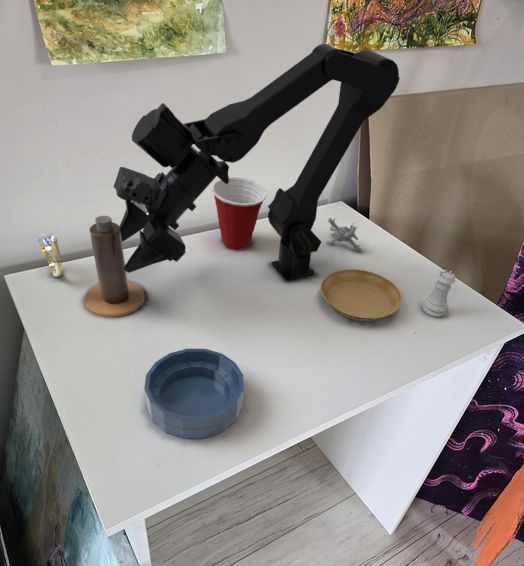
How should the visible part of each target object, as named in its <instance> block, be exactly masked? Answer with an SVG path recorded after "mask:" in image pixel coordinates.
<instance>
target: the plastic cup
mask: <svg viewBox="0 0 524 566" xmlns="http://www.w3.org/2000/svg"><path fill="white" fill-rule="evenodd" d="M211 193H212V194H213V197H214V201H215V206H216V214H217V219H218V227H219V230H220V236H221V237H220V238H221V242H222V244H223V245H224V247H226V248H228V249H231V250H237V251H238V250H245V249H247V248H248V247H249V246H250V244H251V242H252V239H253V233H254V231H255V228H256V225H257V221H258V217H259V213H260V209H261V207H262V205H263V202H265V200H266V199H267V197H268V192H267V190H266V189H265V187H264V186H263V185H262V184H261V183H258V182H257V181H254V180H252V179H248V178H246V177H238V176H237V177H236V176H230V177H229V183H228V184H225V183H224V182H223V181H222V180H221V179H219V178H218V179H217V180H215V181H214V182H212V184H211Z"/></svg>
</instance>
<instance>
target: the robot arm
mask: <svg viewBox="0 0 524 566" xmlns="http://www.w3.org/2000/svg"><path fill="white" fill-rule="evenodd" d="M400 79H401V77H400V72H399V67H398V64H397V63H396V62H395V61H394V60H392V59H390V58H388V57H386V56H383V55H382V54H379V53H378V52H375V51H374V50H370V49H363V50H360V51H357V52H352V51H349V50H346V49H341V48H337V47H334V46H332V45H330V44H327V43H321V44H318V45H316V46H315V47H314V48H313V49H312V51H311V53H309V54H307V55H306V56H304V57H303V58H302V59H301V60H300V61H298V62H297V63H296V64H294V65H293V66H291V67H290V68H289V69H287V70H286V71H285V72H284V73H282V74H281V75H279V76H278V77H276V78H275V79H274V80H273V81H271V82H270V83H268V84H267V85H266V86H264V87H263V88H262V89H260V90H259V91H258V92H256V93H255V94H253V96H251V97H249V98H246V99H244V100H241V101H238V102H234V103H230V104H227V105H225V106H223V107H222V108H220V109H218V110H216V111H214V112H213V111H212V113H210V114H209V115H208V116H207V117H206V118H203V119H199V120H195V121H190V122H185V123H183V122H182V121H181V120H180V119H179V118H178V117H177V116H176V115H175V114H174V113H173V111H172V109H170V108H169V107H168V105H166V104H165V102H162V103H161V104H160V105H159V106H158V108H153V109H152V110H150V111H148V112H147V114H145V115H142V117H141V118H140V119H139V121H137V123H136V125H135V126H134V128H133V130H132V134H131V141H132V142H133V143H134V144H135V145H136V146H137V147H139V148H140V149H141V150H142V151H143V152H144V153H145V154H147V155H148V156H149V157H151V158H152V160H154V161H155V162H156V163H157V164H158V165H159V166H161V167H163V168H168V167H170V170H169V171H167V173H166V174H165V173H164V172H163V171H162V172H159V173H157V175H155V177H151V176H149V175H147V174H144V173H142V172H138V171H136V170H134V169H130V168H127V167H125V166H120V167H119V169H118V171H117V175H116V178H115V180H114V184H113V189H115V191H116V196H117V197H118V198H119V199H121V200H124V203H125V211H124V214H123V217H122V219H121V221H120V224H119V227H120V231H121V239H122V243H123V242H125V241H127V240H128V239H130V238H131V237H132V236H134V235H136V234H137V233H139V241H140V242H139V244H138V246H137V247H136V249H135V250H134V251H133V253H132V255H130V257H129V259H128V260H127V262H125V267H124V270H125V271H126V273H128V274H130V273H133V272H136V271H138V270H141V269H144V268H146V267H149V266H151V265H154V264H159V263H161V262H164V261H165V262H166V261H168V262H172V261H174V262H179V261H180V260H181V259H182V258H183V256H185V254H186V244H185V243H184V241H183V239H182V237H181V235H180V234H179V233H178V232H176V230H177V229H178V228H179V227H180V224H179V223H178V220H179V219H180V218H181V217H182V216H183V215H184V214H185V212H186V211H188V210H189V211H190V212H193V211H194V210H195V209H196V208H197V205H196V204H195V201H196V200H197V199H198V198H199V197H200V196H201V194H202V193H203V192H204V191H205V190H206V189H207V188H208V187H209V186H210V184H211V183H213V181H214V180H215V179H216V178H218V180H219V179H221V180H222V181H223V182H224V183H225V184H228V183H229V170H230V166H229V164H228V163H231V164H233V163H237V162H239V161H241V160H242V159H243V158H244V157H246V155H247V154H249V153H250V151H251V150H252V149H253V148H255V147H256V145H257V144H258V143H259V141H260V139H261V138H262V136H263V135H264V132H265V131H266V130H267V129H268V128H269V127H270V126H271V125H272V124H274V123H275V122H276V121H278V120H279V119H281V118H282V117H283V116H284V115H286V114H288V113H289V112H290V111H292V110H293V109H294V108H295V107H297V106H298V105H300V104H301V103H302V102H303V101H305V100H307V99H308V98H309V97H310V96H312V95H313V94H315V93H316V92H317V91H319V90H320V89H322V88H323V87H324V86H325V85H327V84H328V83H330V82H331V81H336V82H339V83H340V86H339V93H338V94H339V95H338V103H337V106H336V108H335V110H334V111H333V114H332V115H331V117H330V119H329V121H328V123H327V124H326V127H325V128H324V130H323V132H322V133H321V135H320V137H319V139H318V141H317V142H316V144H315V147H314V148H313V150H312V152H311V154H310V156H309V158H307V161H306V163H305V165H304V166H303V168H302V169H301V172H300V174H299V175H298V177H297V179H296V181H295V182H294V184H293V185H292V186H291V187H289V188H287V189H286V190H283V189H282V188H281V187H279V188H278V189H277V190H276V192H275V196H274V198H273V199H272V201H271V203H269V205H268V206H267V208H268V209H269V210H268V213H267V218H268V223H269V224H270V226H271V227H272V228H273V230H274V231H275V232H276V234H277V235H278V236H279V237H280V242H279V250H278V251H279V252H278V259H277V260H274V261H271V264H270V265H271V266H272V268H273V269H274V270H275V271H276V272H277V273H278V274H279V275H280V276H281V277H282V279H283V280H284V281H287V282H290V281H294V280H297V279H302V278H305V277H311V276H314V275H315V271H314V270H313V269H312V267H310V265H311V259H312V253H316V252H318V250H319V248H320V246H321V245H322V240H321V239H320V238H319V237H318V236H317V235H316V234H315V233H314V231H312V229H313V226H314V225H315V221H316V220H317V211H318V203H319V202H318V201H319V199H320V197H321V195H322V194H323V192H324V190H325V188H326V186H328V184H329V182H330V180H331V178H332V176H333V174H334V173H335V171H336V169H337V168H338V166H339V164H340V163H341V161H342V159H343V157H344V156H345V154H346V152H347V151H348V149H349V147H350V145H351V144H352V142H353V140H354V138H355V137H356V135H357V133H358V132H359V130H360V128H361V126H362V125H363V123H364V122H365V121H366V120H367V119H369V118H370V117H371V116H373V115H375V113H377V112H378V111H379V110H381V109H382V108H383V107H384V105H385V104H386V103H387V102H388V100H389V99H390V98H391V96H392V95H393V93H394V92H395V91H396V89H397V87H398V85H399V84H400ZM193 145H194V146H195V147H196V148H197V149H196V148H195V147H194V146H193ZM215 157H217V158H218V159H219V160H221V161H219V160H217V159H216V158H215Z"/></svg>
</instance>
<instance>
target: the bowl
mask: <svg viewBox="0 0 524 566" xmlns="http://www.w3.org/2000/svg"><path fill="white" fill-rule="evenodd" d="M144 379H145V380H144V385H143V390H144V391H143V392H144V398H145V407H146V410H147V412H148V415H149V417H150V420H151V421H152V423H153V424H155V425H156V426H157V427H158V428H160V429H161V430H162V432H165V433H166V434H168V435H172V436H175V437H178V438H181V439H205V438H208V437H212V436H214V435H217V434H220V433H223V432H225V431H226V429H228V428H229V427H230V426H231V425H233V424H234V423H235V422H237V420H238V418H239V415H240V414H241V411H242V409H243V406H244V394H245V383H244V381H245V380H244V374H243V372H242V370H241V369H240V368H239V366H238V364H237V362H235V361H234V360H232V359H231V358H229V357H228V356H226V354H224V353H221V352H218V351H214V350H211V349H207V348H184V349H179V350H177V351H173V352H170V353H168V354H166V355H164V356H163V357H161V358H160V359H157V360H156V361H155V362H154V363H153V365H152V366H151V367H150V368H149V370H148V371H147V372H146V374H145V378H144Z"/></svg>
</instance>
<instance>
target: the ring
mask: <svg viewBox="0 0 524 566" xmlns="http://www.w3.org/2000/svg"><path fill="white" fill-rule="evenodd" d="M36 242H38V245H39V246H40V248H41V250H42V252H43V254H44V255H43V256H44V257H45V259H46V262H47V264H48V266H49V269H50V270H51V272H52V275H53V277H55V278H56V277H61V276H62V272H63V270H62V269H63V267H62V266H63V264H62V256H61V251H60V247H59V244H58V237H57V236H55V235H52V233H51V232H50V233H49V235H46V233H45V232H43V233H42V235H41V236H40V237H39V238H38V239H37V240H36ZM52 248H53V249H54V250H55V253H54V251H53V249H52Z"/></svg>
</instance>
